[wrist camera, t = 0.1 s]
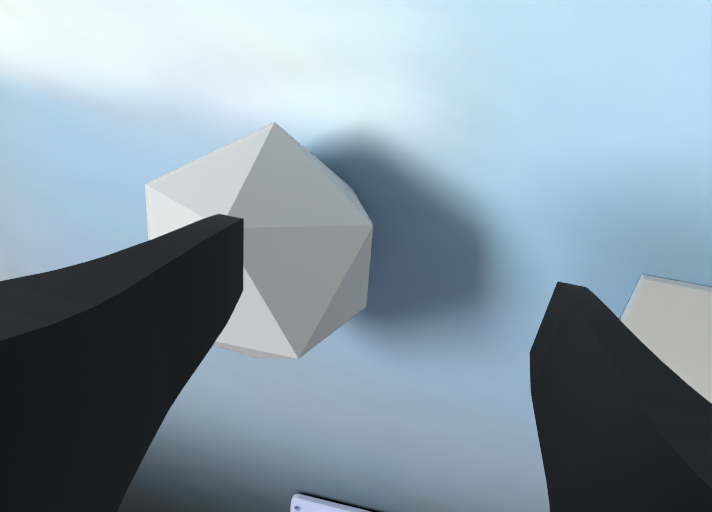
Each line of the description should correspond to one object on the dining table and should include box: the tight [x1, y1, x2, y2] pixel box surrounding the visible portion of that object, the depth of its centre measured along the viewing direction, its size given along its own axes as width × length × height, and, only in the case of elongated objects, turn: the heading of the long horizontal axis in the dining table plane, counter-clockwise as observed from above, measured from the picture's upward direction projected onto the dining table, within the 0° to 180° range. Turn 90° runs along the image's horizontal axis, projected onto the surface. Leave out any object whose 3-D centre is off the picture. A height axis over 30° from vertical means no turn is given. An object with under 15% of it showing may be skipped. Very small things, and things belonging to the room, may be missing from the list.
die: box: [145, 122, 373, 359], centre depth 20 cm, size 8×9×10 cm
